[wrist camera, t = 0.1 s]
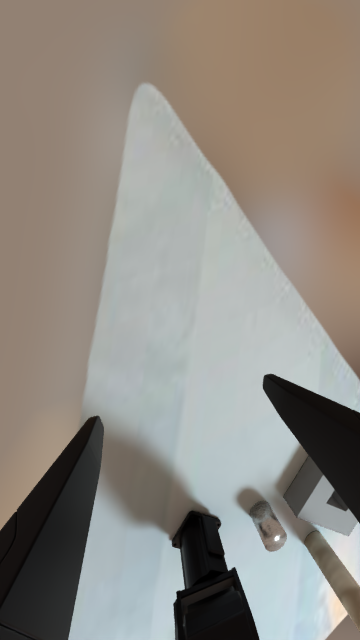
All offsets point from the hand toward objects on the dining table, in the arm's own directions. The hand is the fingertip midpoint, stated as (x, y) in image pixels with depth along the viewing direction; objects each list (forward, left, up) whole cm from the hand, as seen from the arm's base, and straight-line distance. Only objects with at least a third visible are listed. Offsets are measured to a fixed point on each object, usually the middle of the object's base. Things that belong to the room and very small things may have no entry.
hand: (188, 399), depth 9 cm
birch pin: (-21, -48, -15) cm, 55 cm away
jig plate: (-8, -42, -15) cm, 46 cm away
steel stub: (-19, -32, -16) cm, 41 cm away
